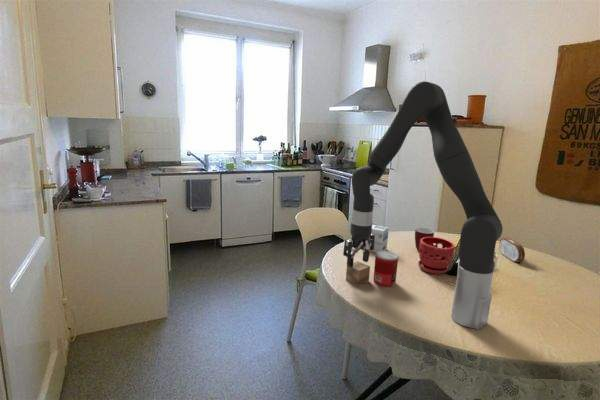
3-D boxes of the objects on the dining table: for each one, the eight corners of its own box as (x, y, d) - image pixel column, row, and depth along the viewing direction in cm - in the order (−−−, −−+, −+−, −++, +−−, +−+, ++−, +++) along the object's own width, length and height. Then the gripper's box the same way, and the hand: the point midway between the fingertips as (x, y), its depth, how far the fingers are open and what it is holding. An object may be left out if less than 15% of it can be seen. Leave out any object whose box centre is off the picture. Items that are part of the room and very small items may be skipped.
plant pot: (418, 274, 140) (421, 245, 137) (415, 261, 152) (418, 234, 149) (453, 278, 137) (457, 249, 134) (448, 265, 149) (452, 238, 146)
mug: (407, 246, 170) (410, 226, 167) (423, 246, 171) (426, 226, 168) (417, 254, 159) (420, 233, 157) (434, 254, 160) (437, 233, 158)
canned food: (395, 288, 127) (399, 259, 125) (373, 285, 129) (375, 257, 126) (394, 279, 134) (397, 251, 132) (373, 276, 136) (375, 249, 133)
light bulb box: (387, 249, 165) (389, 227, 162) (382, 254, 159) (384, 231, 156) (365, 244, 170) (367, 223, 168) (359, 248, 164) (361, 226, 162)
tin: (523, 265, 152) (527, 246, 150) (516, 265, 152) (520, 246, 150) (503, 252, 167) (506, 235, 165) (496, 252, 167) (499, 234, 165)
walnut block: (368, 281, 132) (370, 266, 131) (358, 286, 128) (359, 270, 127) (356, 275, 136) (357, 261, 135) (345, 279, 133) (346, 265, 131)
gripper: (356, 228, 120) (352, 272, 124) (382, 221, 129) (378, 263, 133) (340, 222, 125) (336, 265, 129) (366, 216, 134) (362, 256, 138)
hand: (357, 263), depth 131 cm, fingers open, 8 cm apart
